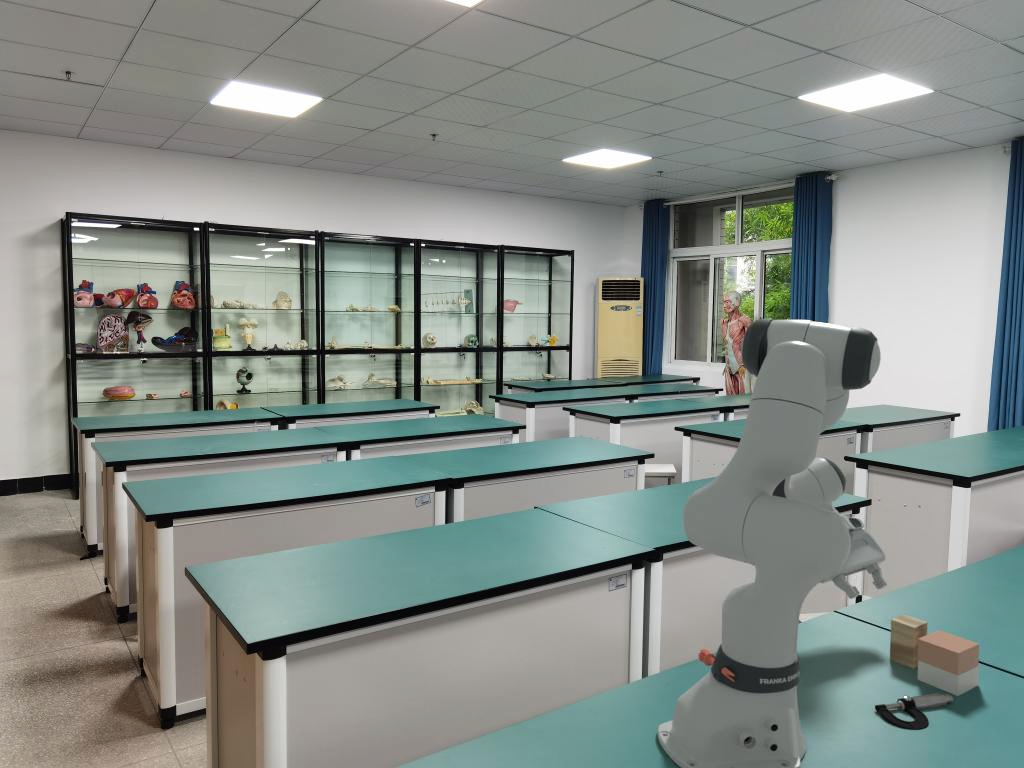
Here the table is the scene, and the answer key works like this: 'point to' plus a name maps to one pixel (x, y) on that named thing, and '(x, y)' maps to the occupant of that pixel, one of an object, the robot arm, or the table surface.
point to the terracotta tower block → (948, 652)
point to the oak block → (906, 639)
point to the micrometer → (913, 709)
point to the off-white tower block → (948, 678)
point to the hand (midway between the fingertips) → (869, 592)
